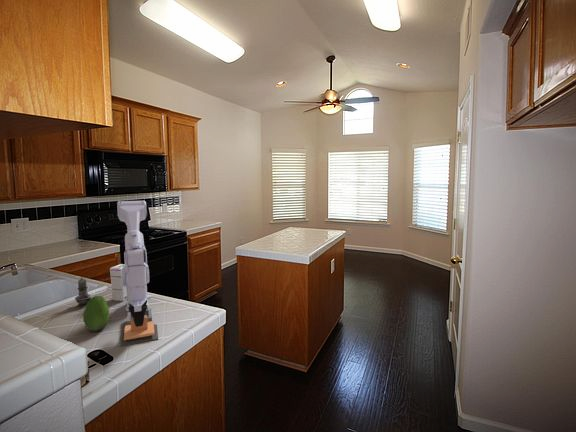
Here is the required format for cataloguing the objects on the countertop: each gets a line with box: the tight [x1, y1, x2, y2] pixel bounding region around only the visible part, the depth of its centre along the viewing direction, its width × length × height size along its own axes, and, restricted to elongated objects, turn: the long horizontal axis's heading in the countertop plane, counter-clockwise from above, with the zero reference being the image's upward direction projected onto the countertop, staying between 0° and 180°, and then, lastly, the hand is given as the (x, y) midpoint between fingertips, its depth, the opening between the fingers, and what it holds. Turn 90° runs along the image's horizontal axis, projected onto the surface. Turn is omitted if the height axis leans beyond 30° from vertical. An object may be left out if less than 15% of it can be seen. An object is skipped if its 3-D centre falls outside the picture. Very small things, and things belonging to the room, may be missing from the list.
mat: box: [120, 323, 159, 347], centre depth 108 cm, size 11×11×1 cm
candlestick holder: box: [74, 276, 92, 309], centre depth 131 cm, size 6×6×12 cm
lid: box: [124, 315, 155, 340], centre depth 108 cm, size 9×9×6 cm
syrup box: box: [109, 263, 127, 302], centre depth 139 cm, size 6×6×14 cm
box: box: [126, 308, 153, 325], centre depth 117 cm, size 8×8×3 cm
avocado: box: [82, 295, 110, 332], centre depth 111 cm, size 8×8×12 cm
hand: (139, 323), depth 108 cm, fingers closed on lid, 2 cm apart
